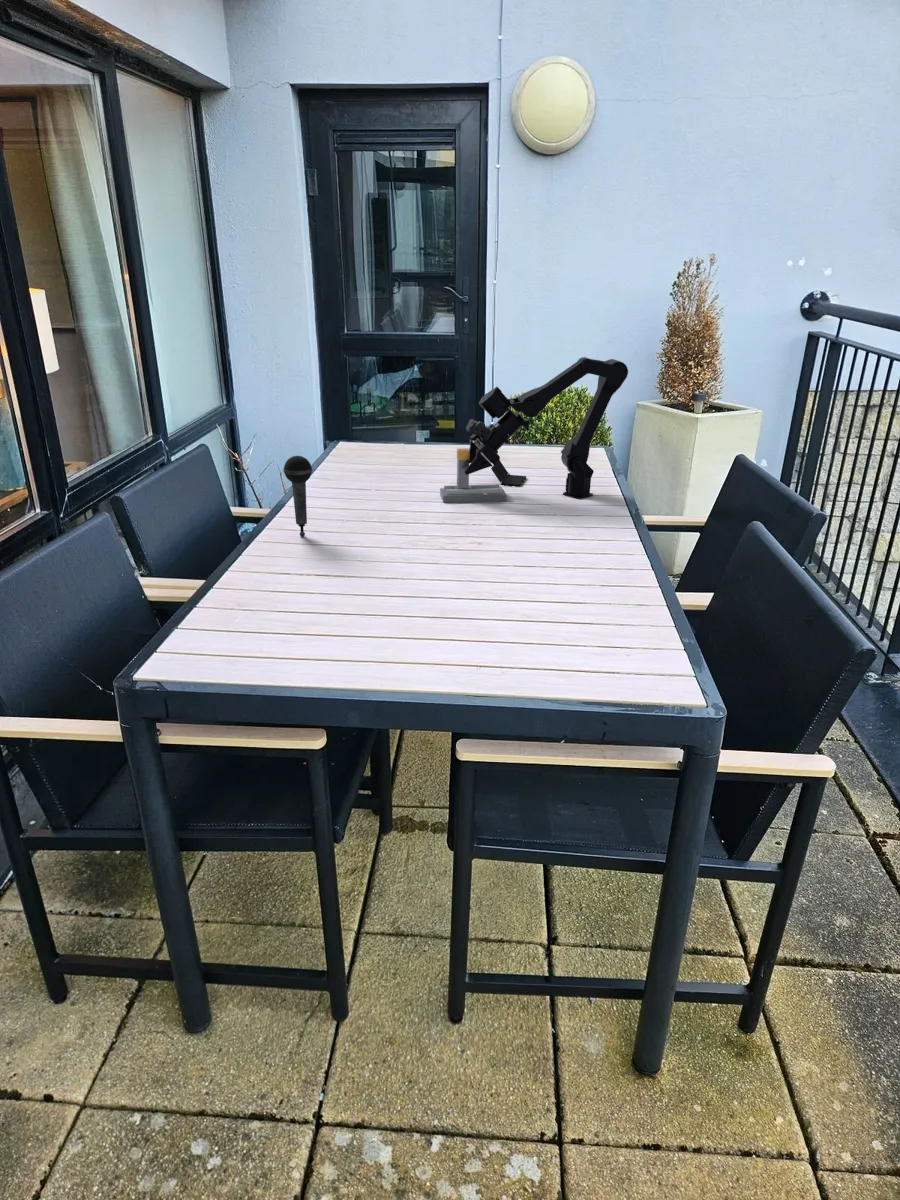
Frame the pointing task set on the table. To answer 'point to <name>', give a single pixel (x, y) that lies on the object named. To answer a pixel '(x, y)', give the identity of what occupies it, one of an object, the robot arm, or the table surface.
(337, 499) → the table surface
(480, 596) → the table surface
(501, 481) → the handheld gaming console
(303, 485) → the microphone
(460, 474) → the block
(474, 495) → the fader track
